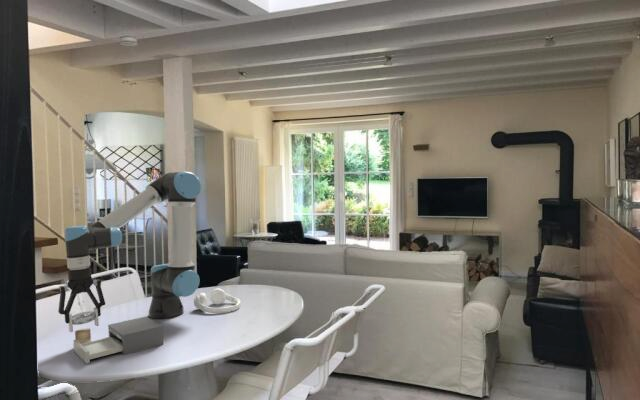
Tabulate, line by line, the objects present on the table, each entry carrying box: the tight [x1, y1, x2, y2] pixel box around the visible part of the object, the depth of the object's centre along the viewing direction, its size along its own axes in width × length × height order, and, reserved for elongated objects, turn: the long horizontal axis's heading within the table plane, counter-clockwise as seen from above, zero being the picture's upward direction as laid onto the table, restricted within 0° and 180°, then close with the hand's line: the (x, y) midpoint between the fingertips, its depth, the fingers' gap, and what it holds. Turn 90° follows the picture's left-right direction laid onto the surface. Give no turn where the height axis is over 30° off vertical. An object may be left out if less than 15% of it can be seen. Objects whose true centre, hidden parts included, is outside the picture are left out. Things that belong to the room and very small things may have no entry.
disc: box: [72, 310, 96, 326], centre depth 168 cm, size 8×8×2 cm
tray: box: [72, 336, 123, 365], centre depth 160 cm, size 14×17×4 cm
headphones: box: [193, 288, 241, 314], centre depth 214 cm, size 20×8×20 cm
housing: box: [107, 316, 164, 356], centre depth 168 cm, size 14×17×7 cm
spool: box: [74, 327, 92, 344], centre depth 167 cm, size 5×5×6 cm
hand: (84, 328), depth 168 cm, fingers closed on disc, 8 cm apart
